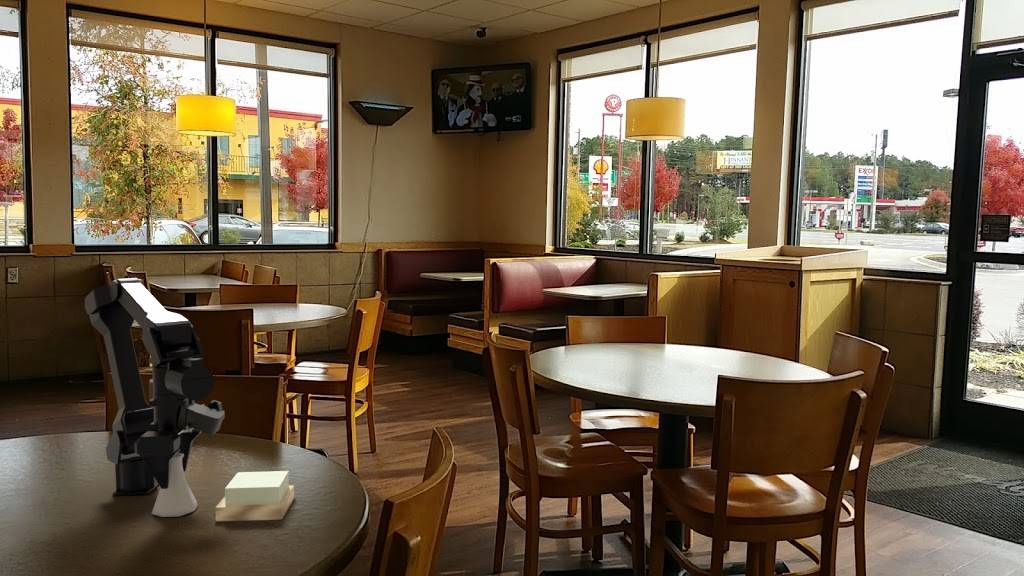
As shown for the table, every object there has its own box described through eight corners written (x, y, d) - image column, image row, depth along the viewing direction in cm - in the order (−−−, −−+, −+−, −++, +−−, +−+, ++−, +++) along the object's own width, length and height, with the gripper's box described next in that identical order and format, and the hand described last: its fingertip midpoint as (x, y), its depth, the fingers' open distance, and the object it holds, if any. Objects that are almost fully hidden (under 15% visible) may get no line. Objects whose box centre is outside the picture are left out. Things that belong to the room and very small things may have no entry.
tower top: (225, 505, 138) (224, 488, 138) (238, 488, 147) (237, 472, 147) (279, 504, 139) (279, 486, 139) (289, 487, 148) (288, 470, 148)
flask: (181, 520, 138) (179, 462, 137) (143, 516, 140) (141, 459, 139) (205, 505, 145) (204, 450, 144) (169, 502, 147) (167, 448, 146)
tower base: (215, 524, 138) (215, 507, 137) (233, 502, 149) (232, 486, 148) (282, 523, 138) (281, 505, 138) (294, 501, 149) (294, 485, 149)
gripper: (202, 403, 132) (205, 496, 133) (233, 380, 151) (235, 463, 152) (131, 404, 131) (135, 498, 133) (171, 381, 150) (173, 464, 151)
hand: (173, 479), depth 142 cm, fingers open, 9 cm apart
